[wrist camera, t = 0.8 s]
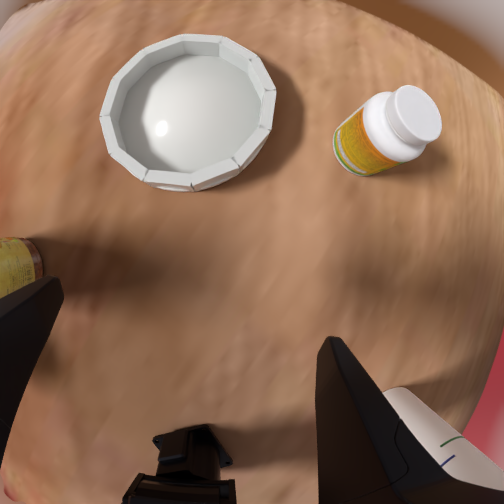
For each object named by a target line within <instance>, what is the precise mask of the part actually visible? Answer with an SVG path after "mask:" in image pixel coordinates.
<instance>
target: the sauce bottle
mask: <svg viewBox="0 0 504 504" xmlns="http://www.w3.org/2000/svg"><path fill="white" fill-rule="evenodd" d="M42 277H43V265H42V260H41V257H40V254H39V252H38V251H37V248H36V247H35V246H34V244H33V243H32V242H30V241H29V240H26V239H24V238H16V237H7V238H0V298H2V297H4V296H6V295H8V294H10V293H12V292H14V291H16V290H17V289H19V288H21V287H23V286H25V285H28V284H30V283H32V282H34V281H36V280H38V279H40V278H42Z"/></svg>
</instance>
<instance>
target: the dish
mask: <svg viewBox="0 0 504 504" xmlns="http://www.w3.org/2000/svg"><path fill="white" fill-rule="evenodd" d="M276 92H277V91H276V88H275V86H274V84H273V82H272V80H271V78H270V76H269V74H268V72H267V70H266V69H265V67H264V65H263V63H262V61H261V59H260V58H259V57H258V55H256V54H254V53H253V52H251V51H249V50H248V49H246V48H244V47H243V46H241V45H239V44H237V43H236V42H234V41H232V40H230V39H228V38H227V37H224V38H223V36H216V35H201V34H183V35H181V34H180V35H177V36H174V37H171V38H169V39H166V40H163V41H161V42H158V43H155V44H153V45H150V46H148V47H145V48H143V50H140V51H139V52H138V53H137V54H136V55H135V56H134V57H133V58H132V59H131V60H130V61H129V62H128V63H127V64H126V65H125V66H124V67H123V68H122V69H121V70H120V71H119V72H118V73H117V74H116V75H115V76H114V77H113V80H111V82H110V85H109V88H108V91H107V94H106V97H105V100H104V103H103V106H102V109H101V113H100V122H101V126H102V130H103V134H104V137H105V141H106V145H107V148H108V152H109V154H110V156H111V157H113V158H114V159H115V160H116V161H118V162H119V163H120V164H121V165H123V166H124V167H125V168H126V169H127V170H128V171H129V172H131V173H132V174H133V175H134V176H136V177H137V178H139V179H140V180H141V181H143V182H145V183H146V184H148V185H150V186H151V187H154V188H159V189H163V190H168V191H173V192H195V191H197V192H198V191H200V190H204V189H208V188H211V187H214V186H217V185H219V184H222V183H224V182H226V181H228V180H230V179H231V178H233V177H235V176H237V175H238V174H240V173H241V171H242V170H244V169H245V168H246V167H247V166H248V165H249V164H250V163H251V162H252V161H253V160H254V158H255V157H256V156H257V154H258V153H259V152H260V150H261V148H262V146H263V145H264V144H265V142H266V140H267V138H268V136H269V134H270V131H271V128H272V121H273V114H274V106H275V99H276Z"/></svg>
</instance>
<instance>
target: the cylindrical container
mask: <svg viewBox="0 0 504 504" xmlns="http://www.w3.org/2000/svg"><path fill="white" fill-rule="evenodd" d="M383 395H384V396H385V397H386V399H387V400H388V401H389V403H390V404H391V405H392V407H393V408H394V409H395V411H396V412H397V414H398V415H399V416H400V418H401V419H402V420H403V422H404V423H405V424H406V426H407V427H408V428H409V430H410V431H411V432H412V433H413V435H414V436H415V437H416V439H417V440H418V441H419V442H420V443H421V444H422V446H423V447H424V448H425V449H426V450H427V451H428V452H429V454H430V455H431V456H432V457H433V458H434V459H435V460H436V461H437V462H438V464H439V465H440V466H441V467H442V468H443V469H444V470H445V471H446V472H447V473H448V474H449V475H451V476H452V477H454V478H456V479H458V480H461V481H464V482H468V483H472V484H475V485H479V486H483V487H488V488H492V489H497V490H502V491H504V471H503V470H502V469H501V468H499V467H498V466H497V465H496V464H495V463H494V462H493V461H491V460H490V459H489V458H488V457H487V456H486V455H484V454H483V453H482V452H481V451H480V450H478V449H477V448H476V447H475V446H474V445H473V444H471V443H470V442H469V441H468V440H467V439H465V438H464V437H463V436H462V435H461V434H460V433H459V432H457V431H456V430H455V429H454V428H453V427H452V426H450V425H449V424H448V423H447V422H446V421H445V420H443V419H442V418H441V417H440V416H439V415H437V414H436V413H435V412H434V411H433V410H432V409H430V408H429V407H428V406H427V405H426V404H425V403H423V402H422V401H421V400H420V399H419V398H418V397H416V396H415V395H414V394H413V393H412V392H411V391H409V390H408V389H406V388H404V387H395V388H392V389H389V390H387V391H385V392H383Z"/></svg>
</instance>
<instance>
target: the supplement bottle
mask: <svg viewBox="0 0 504 504" xmlns="http://www.w3.org/2000/svg"><path fill="white" fill-rule="evenodd" d="M441 129H442V121H441V116H440V113H439V110H438V108H437V106H436V104H435V103H434V101H433V100H432V99H431V98H430V97H429V95H428V94H426V93H425V92H424V91H423V90H421V89H419V88H417V87H415V86H411V85H405V86H402V87H400V88H399V89H397V90H396V91H394V92H381V93H378V94H376V95H374V96H373V97H371V98H370V99H369V100H368V101H366V102H365V103H364V104H363V105H362V106H361V107H360V108H358V109H357V110H356V111H355V112H354V113H353V114H352V115H350V116H349V117H348V118H347V119H346V120H345V121H344V122H342V124H341V125H340V126H339V127H338V128H337V129H336V131H335V133H334V136H333V150H334V153H335V156H336V158H337V160H338V161H339V163H340V164H341V165H342V166H343V167H344V168H345V169H346V170H348V171H349V172H351V173H353V174H355V175H359V176H369V175H373V174H375V173H378V172H381V171H383V170H386V169H389V168H391V167H394V166H397V165H400V164H402V163H405V162H408V161H411V160H413V159H415V158H417V157H418V156H419V155H420V154H421V153H422V152H423V150H424V149H425V146H426V144H427V143H430V142H432V141H434V140H436V139H437V138H438V136H439V135H440V133H441Z"/></svg>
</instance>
